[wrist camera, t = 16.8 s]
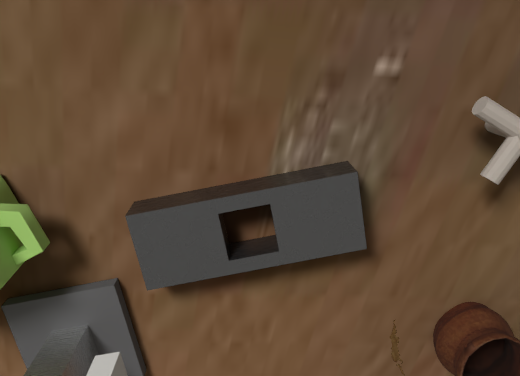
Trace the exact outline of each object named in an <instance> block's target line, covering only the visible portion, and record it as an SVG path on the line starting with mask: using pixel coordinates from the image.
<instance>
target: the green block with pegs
mask: <svg viewBox="0 0 520 376" xmlns="http://www.w3.org/2000/svg"><path fill="white" fill-rule="evenodd" d="M49 244H50V241H49V239H48V238H47V236H46V234H45V233H44V231H43V229H42V228H41V226H40V224H39V223H38V221H37V219H36V218H35V216H34V214H33V213H32V211H31V209H30V208H29V206H28V204H19V203H18V201H17V199H16V198H15V196H14V194H13V193H12V191H11V189H10V188H9V186H8V185H7V183H6V182H5V180H4V179H3V178H2V176H1V175H0V290H1V288H2V287H3V286H4V285H5V284H6V283H7V281H8V280H9V279H10V278H11V277H12V276H13V275H14V273H15V272H16V271H17V270H18V269H19V268H20V266H21V265H22V264H23V263H24V262H25V261H26V260H28V259H30V258H32V257H34V256H35V255H37V254H39V253H41V252H43V251H44V250H45V249H46V247H47V246H48V245H49Z"/></svg>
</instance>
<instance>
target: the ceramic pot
mask: <svg viewBox="0 0 520 376" xmlns="http://www.w3.org/2000/svg"><path fill="white" fill-rule="evenodd" d="M395 320H396V319H395ZM395 320H394V321H395ZM395 328H396V326H395V324H394V328H393V331H392V334H391V336H390V338H391V340H392V348H391V349H392V353H391V355H392V358H393V360H394V361H395V362H397V360H400V361H402V360H401V359H400V358H399V356H400V354H399V353H398V352H399V350H398V348H397V343H399V337H396V335H395V334H396V330H395ZM433 338H434V346H435V351H436V354H437V356H438V359H439V360H440V362H441V363H442V364H443V366H444V367H445V368H446V369H447V370H448V371H450V372H451V373H452V374H454V375H455V376H520V341H519V340H518V339H517V338H515V337H514V335H513V333H512V330H511V328H510V327H509V325H508V323H507V322H506V321H505V320H504V319H503V318H502V317H501V316H500V315H499V314H498V313H496V312H494V311H493V310H491V309H489V308H488V307H486V306H485V305H483V304H480V303H476V302H465V303H462V304H459V305H457V306H455V307H454V308H452V309H450V310H449V311H448V312H446V313H445V314H444V315H443V316H442V317H441V318H440V319H439V321H438V322H437V324H436V326H435V329H434V333H433ZM402 363H403V361H402ZM402 363H401V364H402ZM397 366H398V367H400V369H401V366H400V365H399V364H397ZM401 372H402V374H403V375H404V373H403V370H402V369H401Z"/></svg>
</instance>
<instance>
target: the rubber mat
mask: <svg viewBox="0 0 520 376" xmlns="http://www.w3.org/2000/svg"><path fill="white" fill-rule="evenodd" d="M1 307H2V310H3V312H4V314H5V317H6V319H7V322H8V324H9V327H10V329H11V331H12V334H13V336H14V339H15V341H16V343H17V346H18V348H19V351H20V353H21V356H22V358H23V360H24V363H25V365H26V368H27V369H28V368H29V366H30V365H31V363H32V361H33V360H34V358H35V357H36V355H37V354H38V352H39V350H40V349H41V347H42V346H43V344H44V343H45V341H46V339H47V338H48V336H49V335H50V333H51V332H52V331H58V330H63V329H68V328H74V327H79V326H84V325H88V326H89V329H90V332H91V335H92V338H93V340H94V343H95V346H96V349H97V352H98V355H103V354H109V353H115V352H120V354H121V357H122V360H123V363H124V366H125V369H126V372H127V375H128V376H145V372H146V367H145V364H144V360H143V357H142V354H141V351H140V348H139V345H138V341H137V338H136V335H135V332H134V329H133V326H132V322H131V319H130V316H129V313H128V310H127V307H126V303H125V300H124V297H123V294H122V291H121V288H120V284H119V281H118V278H115V279H110V280H105V281H99V282H94V283H89V284H83V285H78V286H73V287H68V288H62V289H57V290H52V291H47V292H41V293H36V294H31V295H25V296H20V297H15V298H10V299H7V300H6V302H5V303H4V304H3V305H2V306H1Z"/></svg>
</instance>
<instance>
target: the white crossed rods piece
mask: <svg viewBox="0 0 520 376" xmlns="http://www.w3.org/2000/svg"><path fill="white" fill-rule="evenodd" d="M472 113H473V114H474V115H475V116H477V117H478V118H480V119H482V120H483V121H485V128H486V129H487V130H488V131H489V132H492V133H494V134H497V135H500V136H503V137H505V138H506V139H505V140H504V142H503V143H502V145H501V146H500V147H499V149H498V150H497V151H496V153H495V154H494V156H493V157H492V158H491V160H490V161H489V163H488V164H487V165H486V167H485V168H484V169H483V171H482V172H481V174H480V175H482V176H484V177H485V178H487V179H489V180H490V181H492V182H494V183H496V184H497V185H499V183H500V182H501V181H502V179H503V178H504V177H505V175H506V174H507V173H508V171H509V170H510V169H511V167H512V166H513V164H514V163H515V162H516V160H517V159H518V158H519V156H520V118H519V117H518V116H516V115H515V114H513V113H512V112H510V111H508V110H507V109H505V108H504V107H502V106H501V105H499V104H497V103H496V102H494V101H493V100H491V99H490V98H488V97H487V96H485V97H482V98H480V99H479V100H478V101H477V102H476V103H475V105H474V106H473V108H472Z"/></svg>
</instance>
